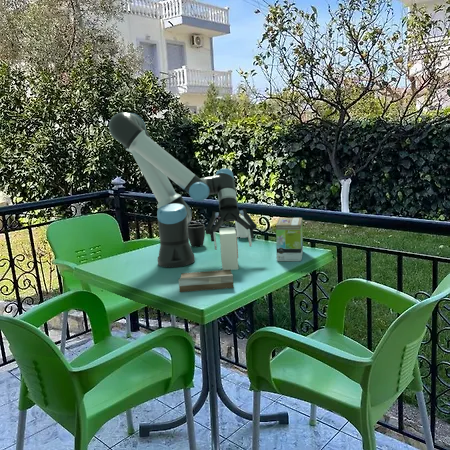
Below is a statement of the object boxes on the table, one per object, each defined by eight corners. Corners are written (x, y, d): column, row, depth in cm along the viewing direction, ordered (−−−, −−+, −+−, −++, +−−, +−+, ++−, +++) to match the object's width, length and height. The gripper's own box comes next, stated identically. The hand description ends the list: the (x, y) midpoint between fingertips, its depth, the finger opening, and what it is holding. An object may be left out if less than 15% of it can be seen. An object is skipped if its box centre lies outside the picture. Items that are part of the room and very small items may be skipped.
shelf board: (181, 278, 162) (180, 266, 161) (231, 274, 162) (230, 263, 161) (179, 292, 148) (178, 279, 147) (233, 288, 148) (232, 275, 147)
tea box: (302, 261, 172) (301, 224, 169) (276, 261, 174) (274, 224, 171) (303, 251, 187) (302, 216, 184) (279, 251, 189) (277, 217, 186)
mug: (208, 241, 215) (206, 221, 213) (204, 247, 203) (203, 227, 201) (191, 241, 216) (189, 222, 214) (187, 248, 204) (185, 228, 202)
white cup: (246, 233, 225) (245, 214, 223) (254, 236, 218) (253, 216, 216) (233, 236, 221) (231, 216, 219) (241, 239, 215) (239, 218, 213)
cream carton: (222, 270, 168) (220, 234, 165) (221, 262, 179) (219, 228, 176) (239, 269, 168) (236, 233, 165) (237, 261, 179) (235, 227, 176)
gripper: (257, 204, 188) (264, 248, 176) (198, 209, 187) (201, 253, 175) (258, 193, 181) (265, 238, 170) (197, 199, 180) (200, 244, 169)
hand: (233, 246), depth 173 cm, fingers open, 13 cm apart
